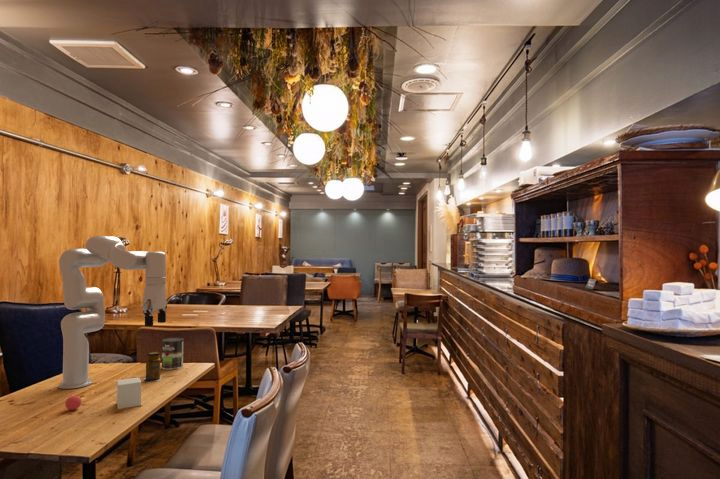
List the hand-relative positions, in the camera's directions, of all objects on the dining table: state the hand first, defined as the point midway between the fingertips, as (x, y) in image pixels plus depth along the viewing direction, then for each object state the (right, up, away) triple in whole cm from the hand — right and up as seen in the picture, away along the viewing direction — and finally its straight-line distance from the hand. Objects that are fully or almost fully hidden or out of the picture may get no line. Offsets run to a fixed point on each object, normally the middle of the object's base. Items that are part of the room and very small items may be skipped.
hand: (155, 324), depth 180 cm
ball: (-23, -26, -15) cm, 38 cm away
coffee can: (-13, -31, +46) cm, 57 cm away
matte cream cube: (-6, -29, -10) cm, 31 cm away
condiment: (-12, -30, +24) cm, 41 cm away
